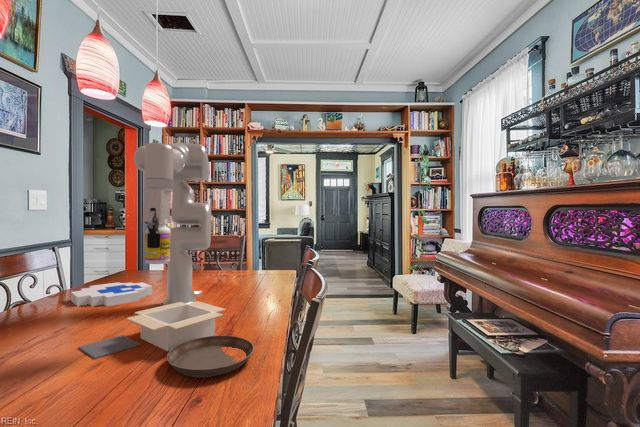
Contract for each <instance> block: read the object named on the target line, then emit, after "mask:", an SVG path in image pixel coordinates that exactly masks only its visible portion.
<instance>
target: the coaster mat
mask: <svg viewBox="0 0 640 427" xmlns="http://www.w3.org/2000/svg"><path fill="white" fill-rule="evenodd" d="M139 346H141V343H139V342H138V341H135V340H133V339H131V338H130V337H127V336H126V335H124V334H120V335H117V336H113V337H110V338H106V339H103V340H99V341H94V342H91V343H87V344H84V345H80V346H78V349H79V350H80V351H81V352H84V353H85V354H87V355H88V356H90V357H91V358H92V359H94V360H96V359H100V358H105V357H106V356H110V355H113V354H116V353H120V352H123V351H126V350H129V349H132V348H136V347H139Z"/></svg>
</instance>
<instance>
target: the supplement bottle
mask: <svg viewBox="0 0 640 427" xmlns="http://www.w3.org/2000/svg"><path fill="white" fill-rule="evenodd" d="M154 223H158V222H154ZM166 224H167V225H168V223H167V219H165V222H164V223H163V224H160V230H159V234H160V247H159V248H148V247H147V238H148V233H147V231H148V228H146V230H145V234H144V235H145V236H144V240H145V242H144V250H145V251H144V263H145V264H146V265H147V264H149V265H162V264H167V263H168V262H169V261H170V238H171V231H170V229H171V228H169V227H168V226H167V227H166ZM156 228H157V226H156Z"/></svg>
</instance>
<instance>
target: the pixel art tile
mask: <svg viewBox="0 0 640 427" xmlns="http://www.w3.org/2000/svg"><path fill="white" fill-rule="evenodd" d="M150 295H153V286H152V284H151V285H150V284H148V283H146V282H143V281H141V282H136V283H134V282H122V283H121V282H120V281H118V282H112V283H111V282H109V283H104V284H103V283H101V284H94V285H89V287H85V288H84V287H83V288H80V290H75V291H71V292H70V302H72V303H73V304H74V305H75V306H76V305H77V306H76V307H81V306H80V305H82V306H87V304H88V305H90V307H96V306H102V305H104V306H105V307H111V306H117V305H122V304H128V303H134V302H140V299H144V298H146V297H147V296H150Z"/></svg>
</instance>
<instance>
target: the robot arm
mask: <svg viewBox="0 0 640 427" xmlns="http://www.w3.org/2000/svg"><path fill="white" fill-rule="evenodd" d="M133 162H134V165H135V167H136V168H137V170H139V171H141V172H144V176H143V177H144V180H143V181H144V182H143V183H144V184H143V185H144V186H143V190H144V191H145V194H144V199H143V200H144V201H143V212H142V213H143V214H142V222H143V224H145V225H147V226H146V227H147V228H148V231H147V233H148V238H147V247H148V248H159V247H160V234H159V230H160V224H163V223H164V222H165V219H167V224H166V227H167V228H168V223H169V222H170V220H171V221H172V223H174V224H175V225H180V226H175V227H171V228H169V229H170V231H171V238H170V261H169V262H168V263H166V264H167V270H166V272H167V273H166V280H167V281H166V299H165V300H163V301H162V306H164V305H169V304H173V303H178V302H183V303H186V304H189V303H193V302H197V299H196V297H197V296H198V297H199V296H203V291H202V290H198V291H196V290H193V259H192V257H191V255H190V254H189V253H188V252H187V251H205V250H209V248H210V246H211V242H212V209H211V206H210V204H209V203H206V202H195V200H194V199H195V193H194V192H195V191H194V190H193V188H192V187H191V186H190V185H189V184H188V183H187V182H186V181H189V182H190V181H194V182H205V181H207V180H208V179H209V177H210V173H211V172H210V171H211V170H210V164H209V163H210V162H209V157H208V152H207V149H206V147H205V146H204V145H203V144H201V143H191V142H190V143H189V142H174V143H168V144H166V143H162V142H149V143H147V144H145V145H142V146H139V147H137V149H136V150H135V152H134V155H133ZM170 192H171V193H172V199H171V196H170ZM170 199H171V200H172V201H171V200H170ZM154 222H158V223H154ZM181 225H182V226H181ZM184 225H186V226H184ZM187 225H188V226H187ZM191 225H193V226H192V227H191ZM156 226H157V228H156ZM197 226H198V227H197ZM147 228H146V229H147Z"/></svg>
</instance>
